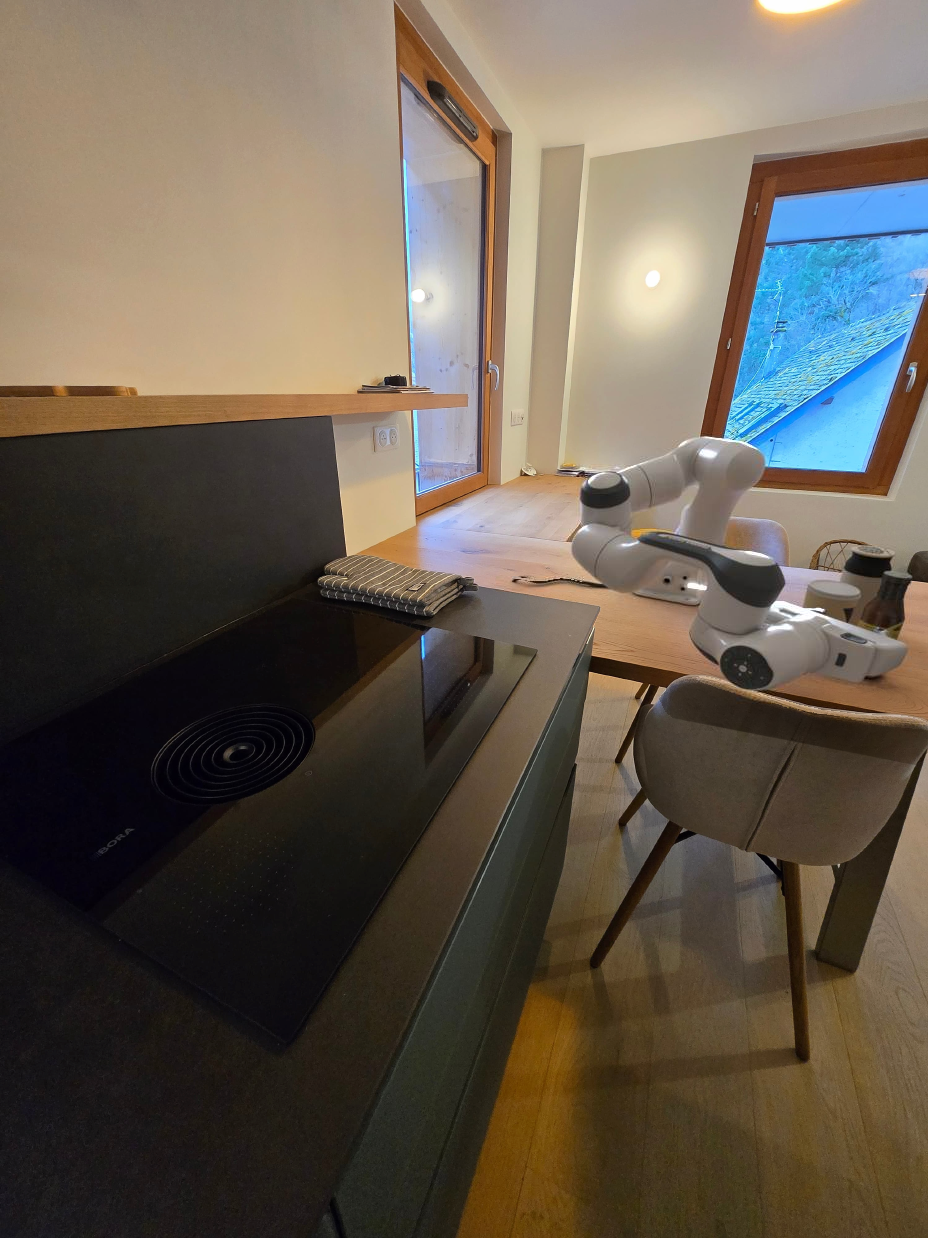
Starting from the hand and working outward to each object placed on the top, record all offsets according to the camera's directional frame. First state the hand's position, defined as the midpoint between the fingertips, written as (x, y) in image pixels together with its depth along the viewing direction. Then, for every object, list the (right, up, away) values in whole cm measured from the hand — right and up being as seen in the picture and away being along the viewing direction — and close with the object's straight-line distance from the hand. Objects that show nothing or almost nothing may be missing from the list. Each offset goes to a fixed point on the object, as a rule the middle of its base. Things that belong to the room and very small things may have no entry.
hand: (851, 622), depth 85 cm
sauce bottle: (+11, -10, +11) cm, 18 cm away
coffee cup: (+11, -4, +23) cm, 26 cm away
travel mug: (+21, -1, +29) cm, 36 cm away
